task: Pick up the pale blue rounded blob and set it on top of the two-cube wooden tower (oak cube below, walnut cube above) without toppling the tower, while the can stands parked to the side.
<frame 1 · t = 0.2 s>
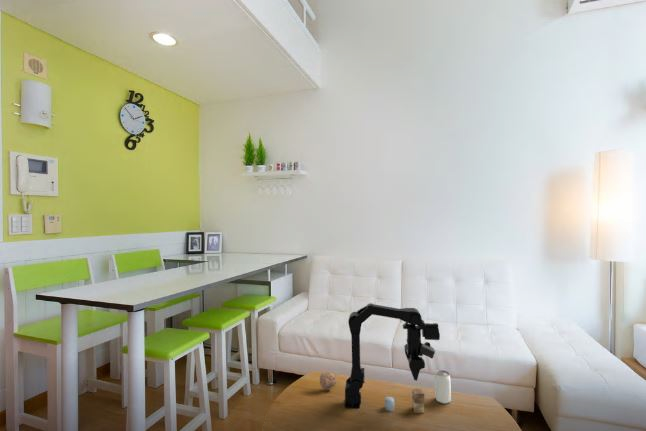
hand: (414, 375, 146), 14 cm above the table, fingers open, 9 cm apart
brown wrinkled rounded piece: (328, 390, 162), on the table
tower base: (418, 410, 144), on the table, touching tower top
tower top: (418, 400, 144), point 4 cm above the table, touching tower base
pale blue rounded blob: (389, 408, 145), on the table
can: (443, 400, 151), on the table
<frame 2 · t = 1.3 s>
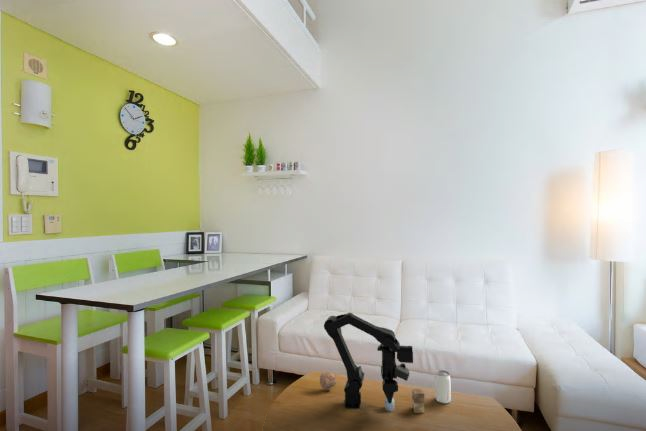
hand: (389, 397, 145), 5 cm above the table, fingers open, 9 cm apart
nothing on the table moved.
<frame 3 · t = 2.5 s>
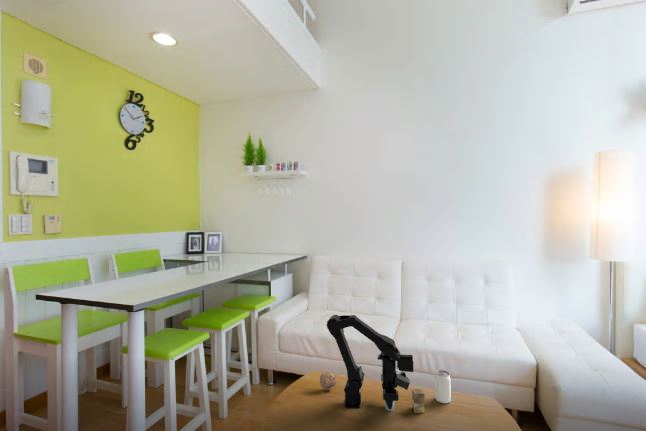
hand: (389, 406, 145), 1 cm above the table, fingers closed on pale blue rounded blob, 4 cm apart
pale blue rounded blob: (389, 408, 145), on the table, touching gripper
everything else where it was.
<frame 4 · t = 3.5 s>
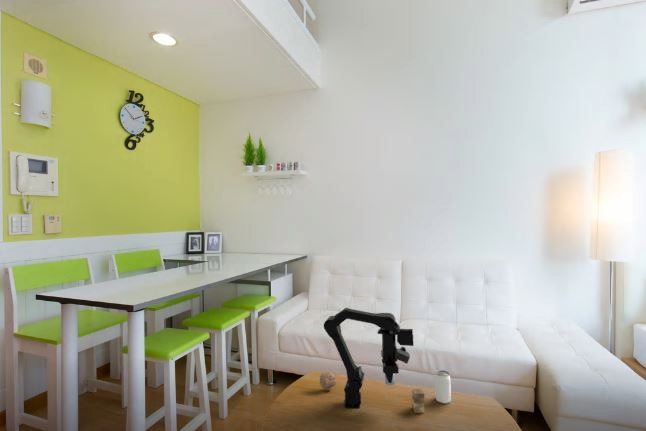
hand: (389, 380, 145), 12 cm above the table, fingers closed on pale blue rounded blob, 4 cm apart
pale blue rounded blob: (389, 382, 145), point 11 cm above the table, touching gripper
everything else where it was.
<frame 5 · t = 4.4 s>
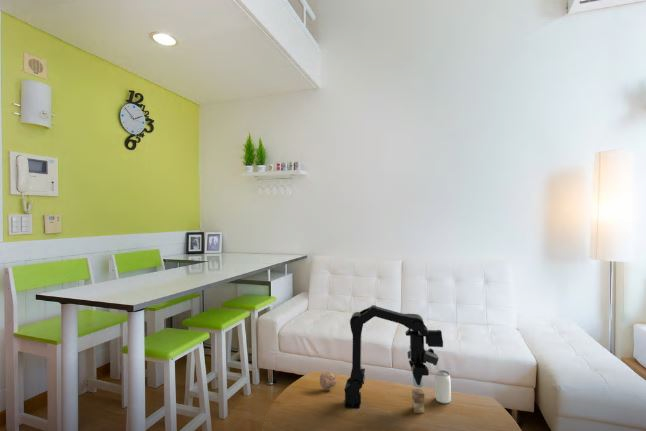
hand: (417, 382, 144), 12 cm above the table, fingers closed on pale blue rounded blob, 4 cm apart
pale blue rounded blob: (417, 384, 144), point 11 cm above the table, touching gripper
everything else where it was.
when the fingers open (10 cm above the table, at t = 4.9 s): pale blue rounded blob drops 1 cm, resting on tower top.
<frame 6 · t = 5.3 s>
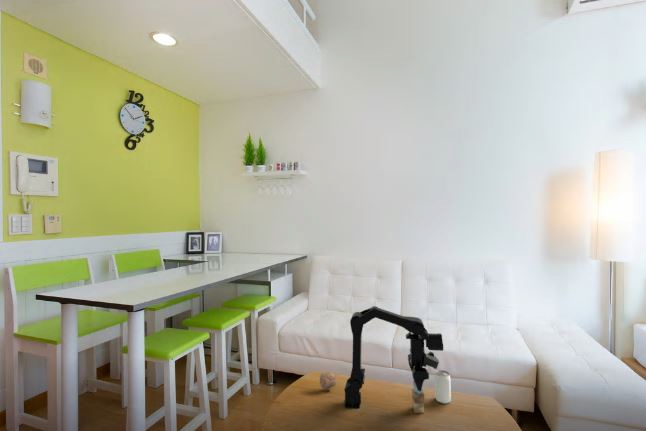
hand: (418, 385, 144), 10 cm above the table, fingers open, 8 cm apart
tower top: (418, 400, 144), point 4 cm above the table, touching pale blue rounded blob, tower base
pale blue rounded blob: (418, 391, 144), point 8 cm above the table, touching tower top
everything else where it was.
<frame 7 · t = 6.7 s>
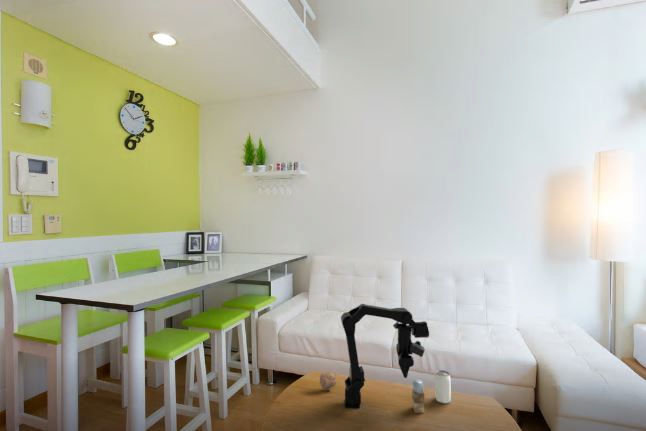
hand: (404, 372, 151), 13 cm above the table, fingers open, 9 cm apart
nothing on the table moved.
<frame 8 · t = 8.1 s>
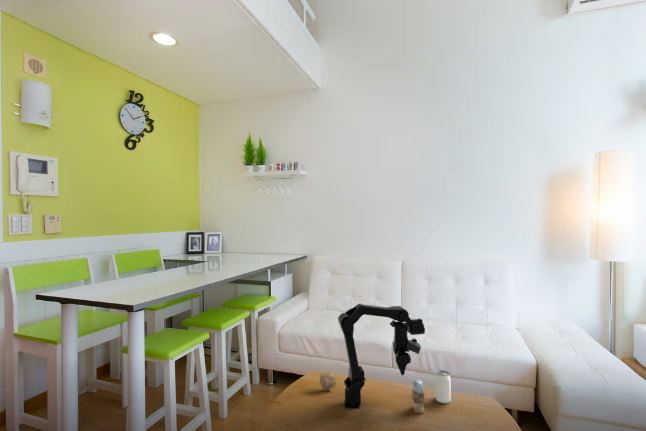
hand: (401, 370, 153), 13 cm above the table, fingers open, 9 cm apart
nothing on the table moved.
at the end: pale blue rounded blob 0.0 cm off-centre on the tower top, point 4.0 cm above the tower top's base; pale blue rounded blob tilted 0°; tower top 0.0 cm off-centre on the tower base, point 4.0 cm above the tower base's base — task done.
